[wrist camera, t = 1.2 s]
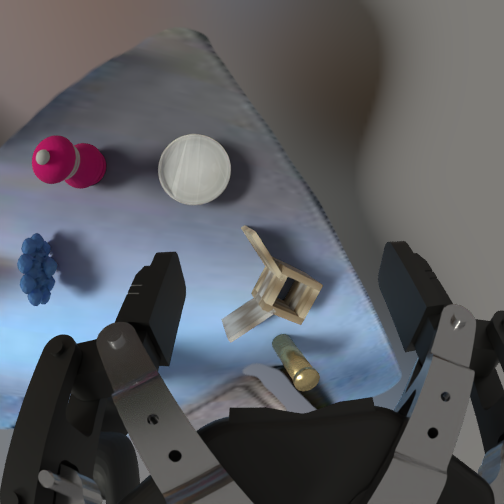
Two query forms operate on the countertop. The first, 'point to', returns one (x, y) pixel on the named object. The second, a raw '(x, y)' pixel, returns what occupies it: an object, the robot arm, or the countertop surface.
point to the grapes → (36, 270)
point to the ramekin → (194, 169)
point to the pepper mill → (68, 162)
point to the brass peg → (295, 363)
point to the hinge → (272, 294)
